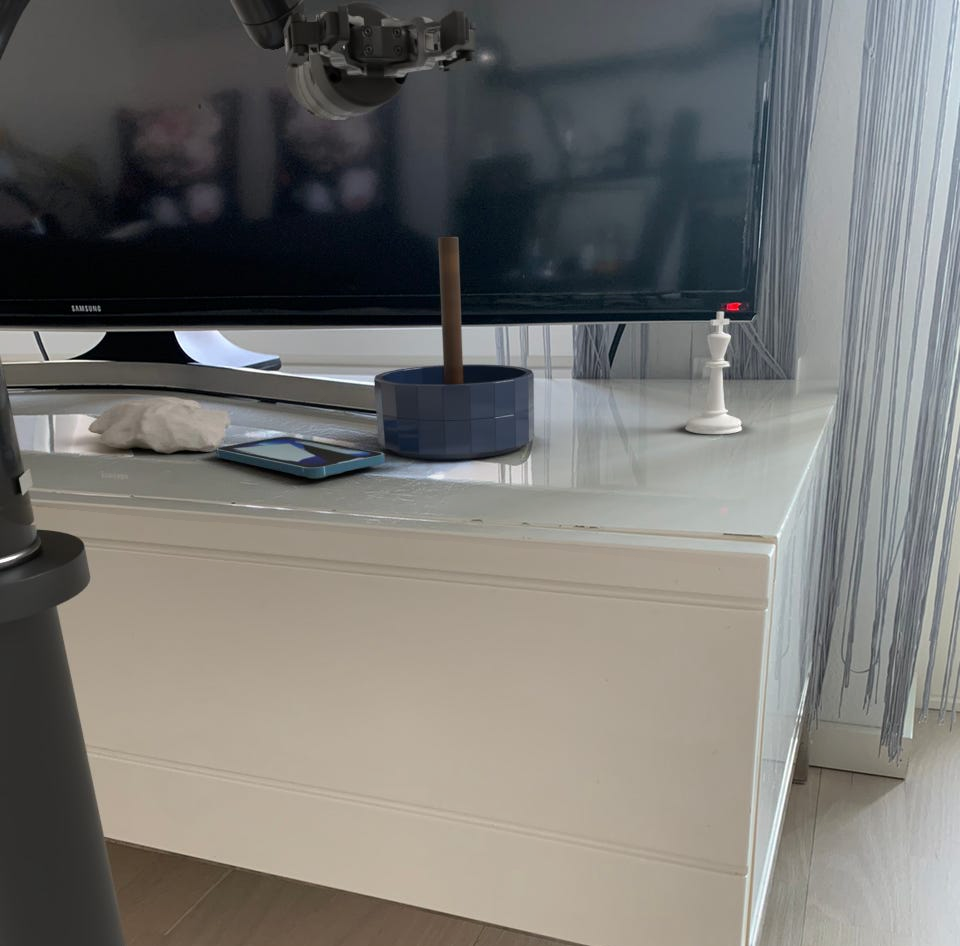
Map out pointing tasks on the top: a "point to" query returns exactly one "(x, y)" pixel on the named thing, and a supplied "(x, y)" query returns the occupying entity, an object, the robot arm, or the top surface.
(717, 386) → the chess piece
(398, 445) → the bowl
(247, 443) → the smartphone
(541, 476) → the top surface
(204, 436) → the decorative stone
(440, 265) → the wooden peg stand
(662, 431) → the top surface
